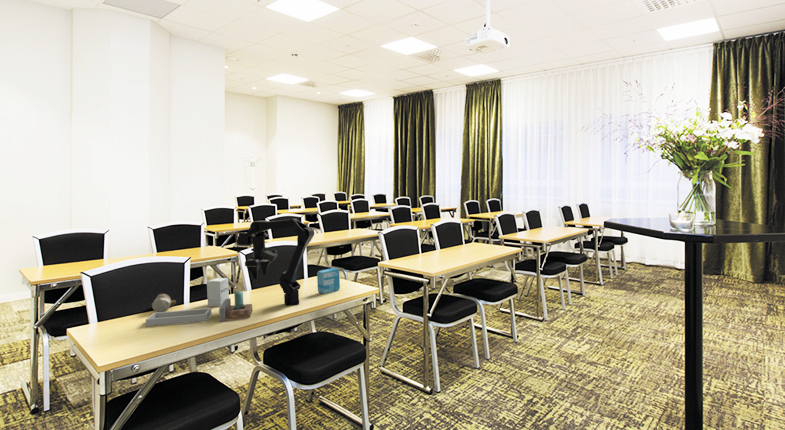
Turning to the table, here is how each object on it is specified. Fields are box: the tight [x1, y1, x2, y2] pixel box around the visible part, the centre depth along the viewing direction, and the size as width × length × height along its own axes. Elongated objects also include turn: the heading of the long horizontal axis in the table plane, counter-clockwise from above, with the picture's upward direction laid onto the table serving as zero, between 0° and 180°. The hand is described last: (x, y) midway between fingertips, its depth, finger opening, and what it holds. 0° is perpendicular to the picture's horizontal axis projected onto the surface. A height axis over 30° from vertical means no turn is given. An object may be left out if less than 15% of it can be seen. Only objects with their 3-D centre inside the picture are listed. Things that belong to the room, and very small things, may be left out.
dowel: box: [233, 290, 245, 310], centre depth 189 cm, size 4×4×10 cm
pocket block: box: [226, 303, 254, 321], centre depth 189 cm, size 10×10×4 cm
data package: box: [316, 267, 341, 295], centre depth 227 cm, size 12×4×12 cm, turn 139°
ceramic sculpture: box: [151, 292, 177, 313], centre depth 202 cm, size 11×9×15 cm
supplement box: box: [206, 277, 230, 308], centre depth 208 cm, size 7×7×13 cm
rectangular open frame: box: [145, 307, 213, 327], centre depth 184 cm, size 24×10×3 cm, turn 102°
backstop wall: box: [218, 298, 232, 323], centre depth 188 cm, size 2×16×6 cm, turn 12°
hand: (260, 277), depth 208 cm, fingers open, 9 cm apart
